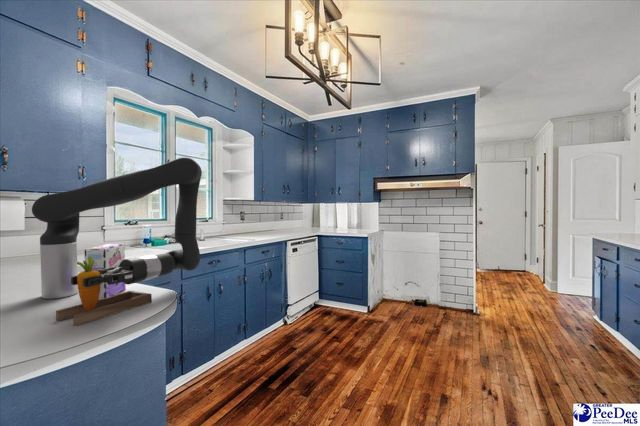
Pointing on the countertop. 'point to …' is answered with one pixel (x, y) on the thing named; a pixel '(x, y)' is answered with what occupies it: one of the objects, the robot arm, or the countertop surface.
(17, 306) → the countertop surface
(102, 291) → the candy box
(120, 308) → the guide channel
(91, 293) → the carrot
